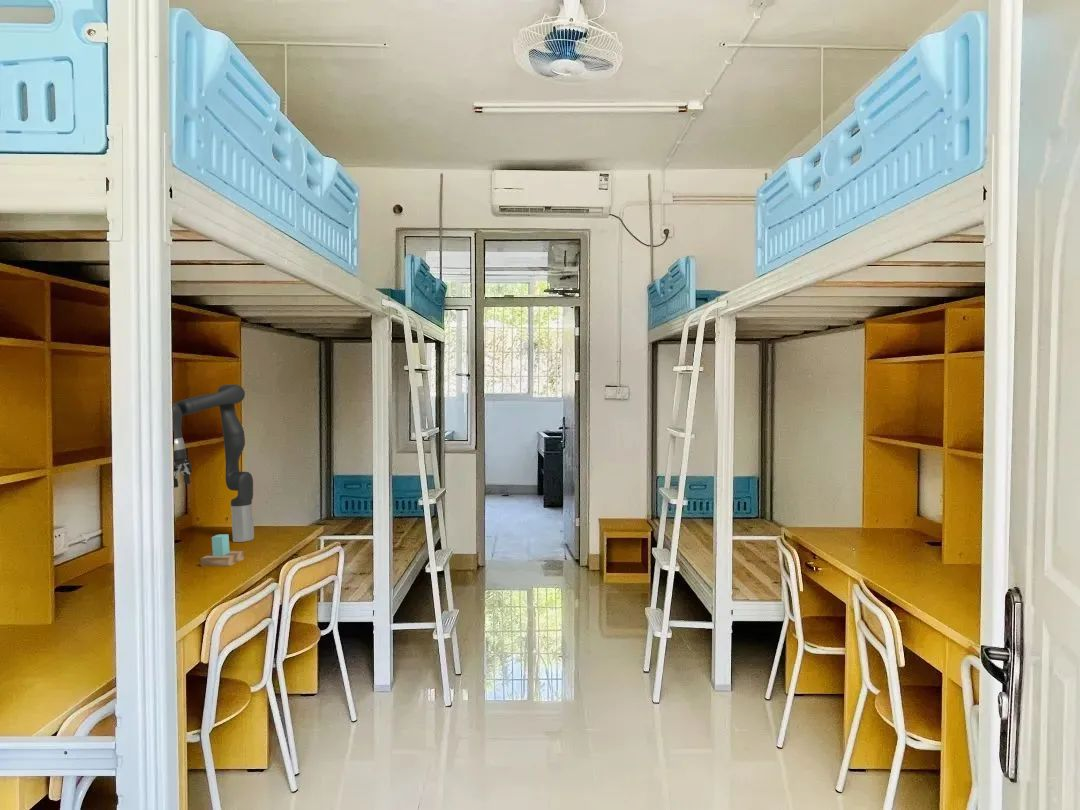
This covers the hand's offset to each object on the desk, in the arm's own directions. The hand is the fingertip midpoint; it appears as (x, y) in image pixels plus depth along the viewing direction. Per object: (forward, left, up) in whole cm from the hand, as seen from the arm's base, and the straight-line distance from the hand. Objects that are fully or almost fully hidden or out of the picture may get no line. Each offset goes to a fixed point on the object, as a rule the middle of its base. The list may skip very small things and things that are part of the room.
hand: (181, 485), depth 292 cm
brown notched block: (+11, +24, -32) cm, 41 cm away
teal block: (+11, +24, -28) cm, 38 cm away
